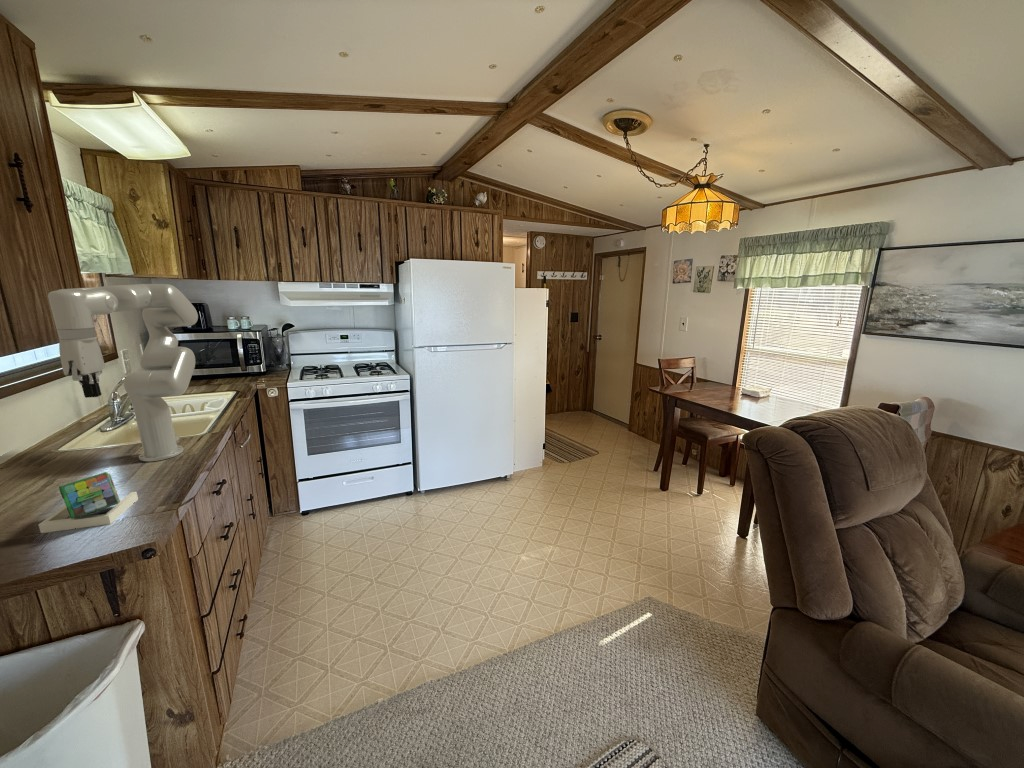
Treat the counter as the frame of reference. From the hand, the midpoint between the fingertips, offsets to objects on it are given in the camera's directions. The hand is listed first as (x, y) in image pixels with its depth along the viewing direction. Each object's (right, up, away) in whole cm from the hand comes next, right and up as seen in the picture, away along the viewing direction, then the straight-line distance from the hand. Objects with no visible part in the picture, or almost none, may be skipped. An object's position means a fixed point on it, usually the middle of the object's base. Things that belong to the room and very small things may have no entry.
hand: (93, 396), depth 122 cm
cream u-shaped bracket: (+9, -32, -9) cm, 34 cm away
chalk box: (+8, -27, -7) cm, 29 cm away
